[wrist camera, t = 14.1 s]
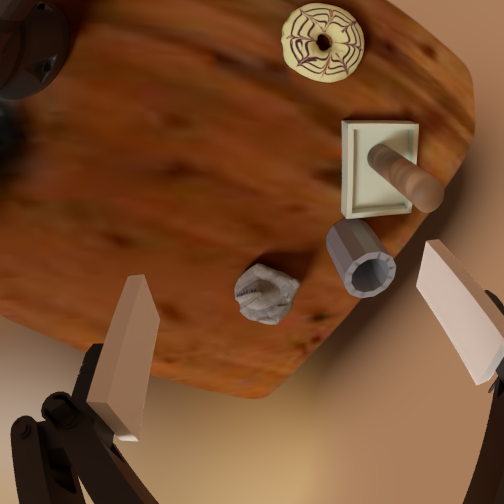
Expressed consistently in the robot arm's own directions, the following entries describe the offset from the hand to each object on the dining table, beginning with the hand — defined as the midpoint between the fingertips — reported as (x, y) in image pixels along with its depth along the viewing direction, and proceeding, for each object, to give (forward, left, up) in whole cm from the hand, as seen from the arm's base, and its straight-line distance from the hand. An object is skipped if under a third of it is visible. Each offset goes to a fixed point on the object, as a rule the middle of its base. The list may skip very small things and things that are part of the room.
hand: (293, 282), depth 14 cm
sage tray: (+6, +18, -32) cm, 37 cm away
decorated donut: (-12, +10, -32) cm, 36 cm away
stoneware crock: (+18, +14, -32) cm, 39 cm away
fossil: (+24, 0, -32) cm, 40 cm away
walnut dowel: (+5, +18, -31) cm, 36 cm away
